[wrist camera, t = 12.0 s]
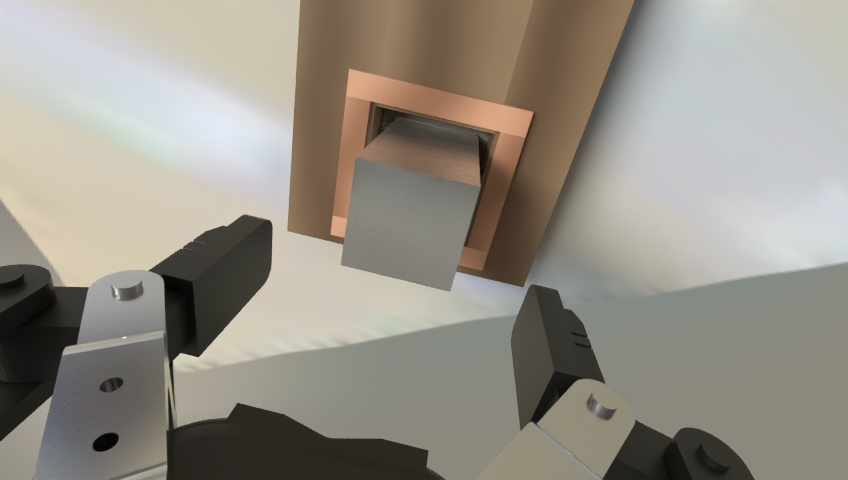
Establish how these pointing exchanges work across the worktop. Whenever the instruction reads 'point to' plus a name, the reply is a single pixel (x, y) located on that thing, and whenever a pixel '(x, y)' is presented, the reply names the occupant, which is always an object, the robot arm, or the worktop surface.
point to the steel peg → (412, 203)
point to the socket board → (451, 104)
